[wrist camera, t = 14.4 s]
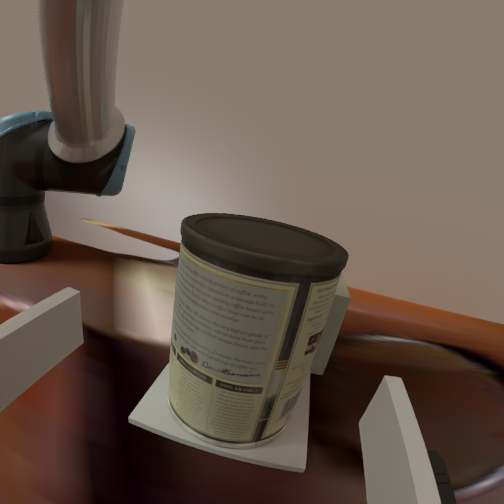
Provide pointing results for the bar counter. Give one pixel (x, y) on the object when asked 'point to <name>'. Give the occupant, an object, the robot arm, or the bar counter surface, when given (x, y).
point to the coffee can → (246, 324)
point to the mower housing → (270, 454)
